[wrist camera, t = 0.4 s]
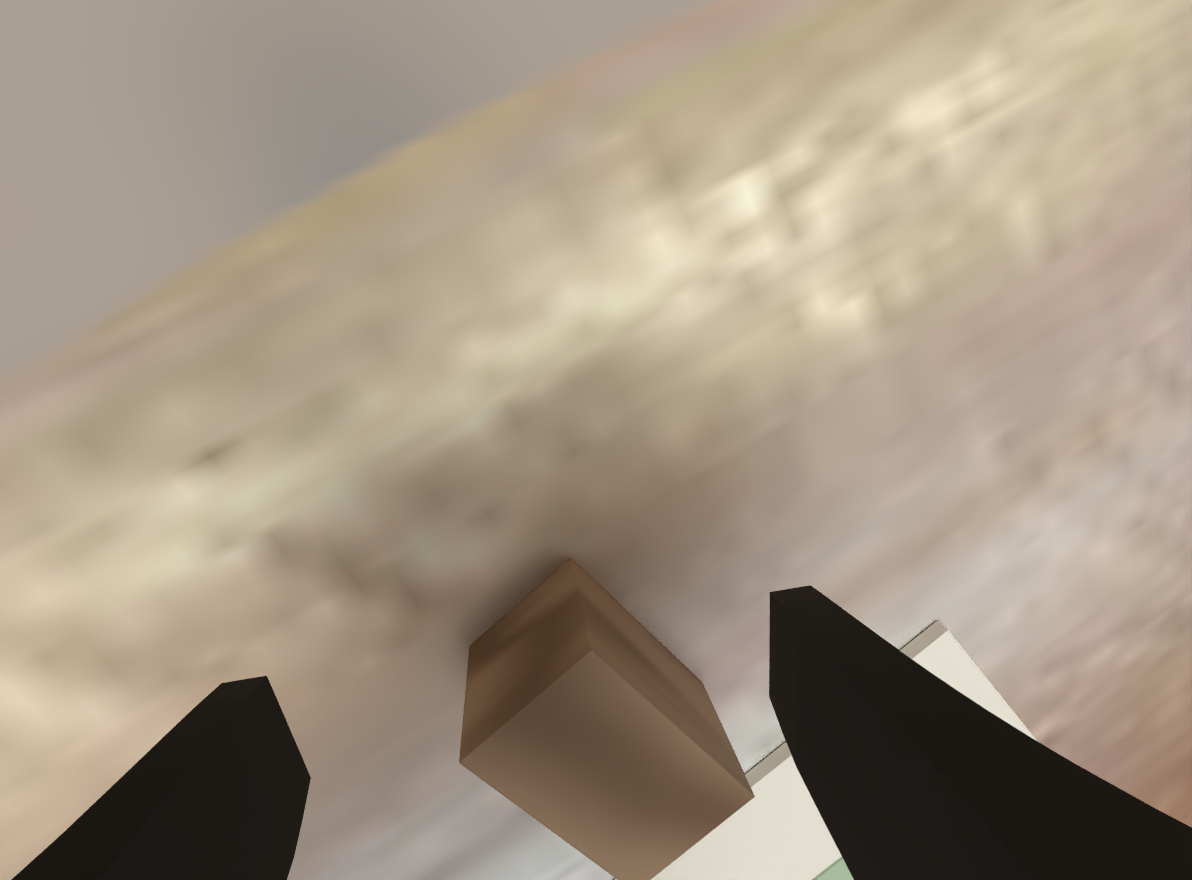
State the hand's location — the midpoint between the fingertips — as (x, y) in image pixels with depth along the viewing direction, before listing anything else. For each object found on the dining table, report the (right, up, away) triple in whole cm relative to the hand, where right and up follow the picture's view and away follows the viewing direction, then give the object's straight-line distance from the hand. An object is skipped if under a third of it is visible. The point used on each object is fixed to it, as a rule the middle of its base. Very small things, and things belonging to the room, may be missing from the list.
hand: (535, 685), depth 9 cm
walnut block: (+1, -4, +12) cm, 13 cm away
